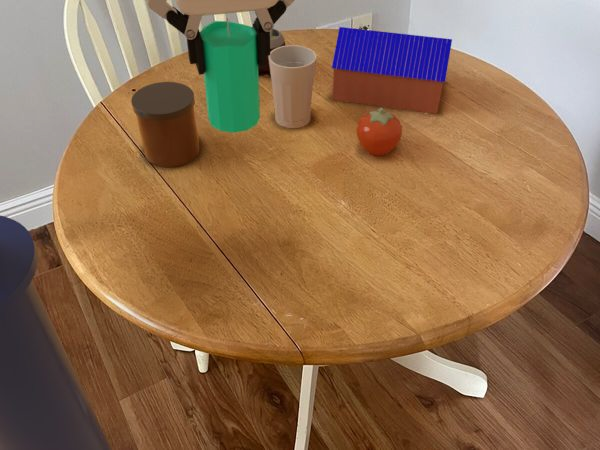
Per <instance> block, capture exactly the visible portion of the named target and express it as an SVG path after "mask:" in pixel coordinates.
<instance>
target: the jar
mask: <svg viewBox="0 0 600 450" xmlns="http://www.w3.org/2000/svg"><path fill="white" fill-rule="evenodd" d="M130 103H131V107H132V108H131V109H132V111H133V112H134V114H135V116H136V120H137V125H138V129H139V134H140V138H141V143H142V148H143V151H144V152H143V153H144V156H145V158H146V159H145V160H147V161H148V162H149V163H150V164H152V165H154V166H157V167H161V168H176V167H181V166H184V165H187V164H189V163H190V162H192V161H193V160H195V159H196V158H197V157H198V155H199V153H200V151H201V149H200V142H199V134H198V127H197V119H196V113H195V103H196V99H195V93H194V90H193V89H192V88H191V87H190V86H188V85H186V84H183V83H181V82H176V81H159V82H154V83H151V84H147V85H145V86H143V87H140V88H139V89H138V90H136V91H135V92H134V93H133V94H132V97H131V100H130Z"/></svg>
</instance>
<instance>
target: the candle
mask: <svg viewBox="0 0 600 450" xmlns="http://www.w3.org/2000/svg"><path fill="white" fill-rule="evenodd" d="M199 32H200V35H201V38H202V42H203V52H204V61H205V71H206V73H204V74H203V80H204V88H205V90H204V91H205V99H206V108H207V109H206V110H207V119H208V121H209V124H210V126H211V127H212V128H215V129H216V130H218V131H220V132H225V133H231V134H232V133H234V134H235V133H240V132H247V131H249V130H250V129H252V128H253V127H256V126H257V125H258V124H259V122H260V119H261V110H260V109H261V108H260V107H261V106H260V105H261V104H260V81H259V80H260V78H259V76H260V75H258V53H257V33H256V31H255V29H254V28H253V26H250V25H246V24H244V23H239V22H235V21H229V18H228V17H226V20H214V21H212V22H210V23H208V24H207V25H205V26H203V28H202V29H201V30H199Z"/></svg>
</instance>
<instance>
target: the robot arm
mask: <svg viewBox="0 0 600 450" xmlns="http://www.w3.org/2000/svg"><path fill="white" fill-rule="evenodd" d="M146 1H147V5H148V8H149V9H150V10H151V11H152V12H154V13H155V14H157V15H158V16H160V18H162V19H164V20H165V21H166V22H167V23H168V24H170V26H172V27H173V28H175V30H177V31H179V32H180V33H181V34H183V35H184V37H185V38H186V45H187V54H188V60H189V64H190V65H196V69H197V74H198V75H204V73H206V71H205V61H204V52H203V42H202V38H201V35H200V28H199V27H200V25H201V21H202V17H203V16H204V17H205V16H214V15H216V16H217V15H226V14H237V13H247V12H254V13H255V15H256V18H255V20H253V23H252V27H253V28H254V29H255V31H256V33H257V53H258V66H260V67H261V68H262V67H266V56H269V55H270V31H271V30H272V29H274V28H275V24H276V23H277V21H278V20H280V18H281V17H282V16H283V15H284V14H285V13H286V11H287V8H288V7H290V6H291V5H292V4H293V3H294V2H295V1H296V0H175V3H176V5H177V8H176V7H175V6H172V5H171V4H170V3H168V0H146Z"/></svg>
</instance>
